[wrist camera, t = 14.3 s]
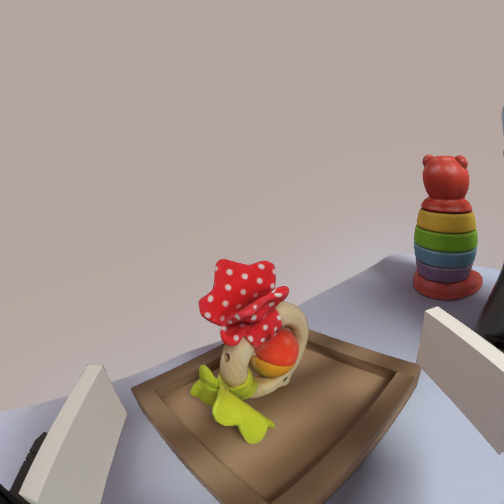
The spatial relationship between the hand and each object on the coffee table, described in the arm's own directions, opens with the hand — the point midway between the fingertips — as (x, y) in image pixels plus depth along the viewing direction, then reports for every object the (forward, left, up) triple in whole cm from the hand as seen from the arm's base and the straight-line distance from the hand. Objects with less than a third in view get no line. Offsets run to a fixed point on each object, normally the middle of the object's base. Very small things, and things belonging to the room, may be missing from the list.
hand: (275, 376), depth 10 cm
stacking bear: (0, -33, -9) cm, 35 cm away
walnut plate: (+5, -4, -9) cm, 12 cm away
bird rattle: (+6, -3, -8) cm, 11 cm away
